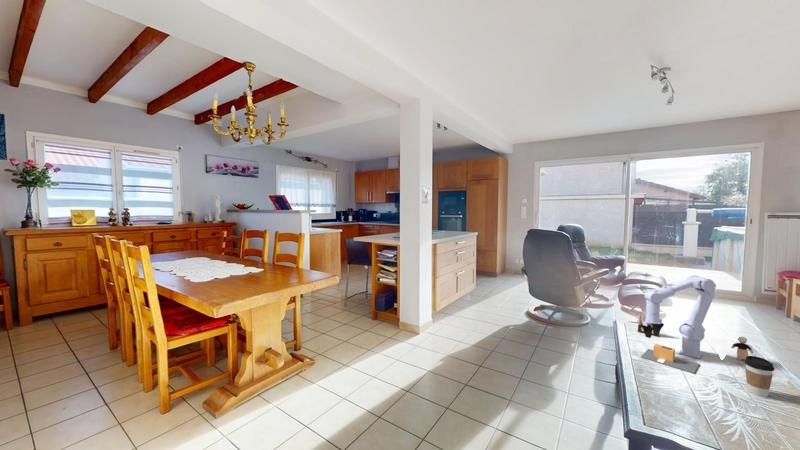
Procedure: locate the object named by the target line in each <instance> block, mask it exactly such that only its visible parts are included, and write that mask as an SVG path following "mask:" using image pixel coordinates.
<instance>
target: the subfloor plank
mask: <svg viewBox="0 0 800 450" xmlns="http://www.w3.org/2000/svg"><path fill="white" fill-rule="evenodd" d="M653 353H654V349H650V348H647V349H646V351H644V352H643V353H642V355H640V358H642V359H645V360H648V361H650V362H654V363H657V364H661V365H664V366H667V367H671V368H674V369H676V370H680V371H683V372H686V373H689V374H693V375H694V374H695V373H696V371H697V370H698V368H699V367H700V363H698V362H694V361H691V360H688V359H684V358H681V357H678V356H675V360H674V361H673V362H670V361H667V360H664V359H660V358H657V357H654V356H653Z"/></svg>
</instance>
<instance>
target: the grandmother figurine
mask: <svg viewBox="0 0 800 450" xmlns="http://www.w3.org/2000/svg"><path fill="white" fill-rule="evenodd" d="M737 341H738V342H735V343H733V344H732V346H730V347H731V348H730V349H735V348H737V350H736V351H737V352H736V359H737V361H743V362H745V360H746V356H749V353H748V351H749V352H750V353H751V354H754V350H753V349H752V347H751V346H750V345H748V344H746V343H747V342H748V340H747V338H746V337H745V336H739V337H738V338H737Z"/></svg>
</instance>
